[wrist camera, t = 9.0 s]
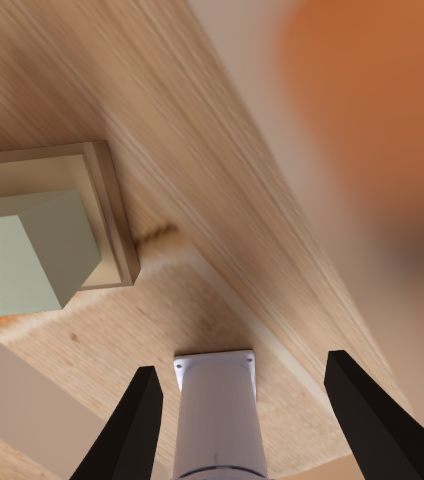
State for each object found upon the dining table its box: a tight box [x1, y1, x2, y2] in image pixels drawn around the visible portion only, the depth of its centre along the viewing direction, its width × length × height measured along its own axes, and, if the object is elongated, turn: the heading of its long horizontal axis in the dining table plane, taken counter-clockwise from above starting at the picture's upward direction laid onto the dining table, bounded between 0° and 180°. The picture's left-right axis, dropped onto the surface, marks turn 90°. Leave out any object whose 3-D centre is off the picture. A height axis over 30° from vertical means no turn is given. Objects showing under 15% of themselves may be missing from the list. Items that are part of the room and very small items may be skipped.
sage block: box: [0, 188, 102, 316], centre depth 13 cm, size 5×5×5 cm
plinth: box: [0, 140, 140, 291], centre depth 17 cm, size 10×8×3 cm
